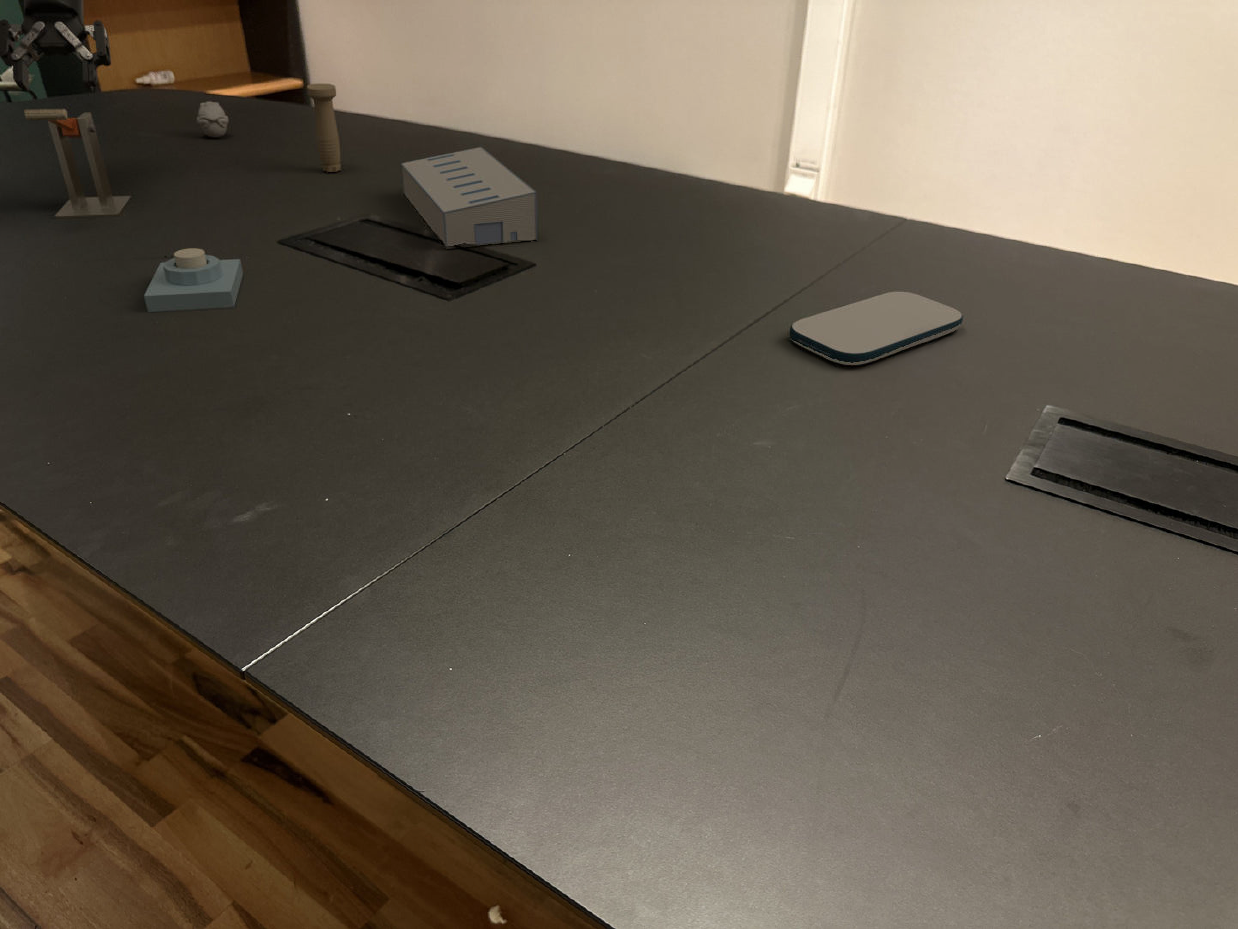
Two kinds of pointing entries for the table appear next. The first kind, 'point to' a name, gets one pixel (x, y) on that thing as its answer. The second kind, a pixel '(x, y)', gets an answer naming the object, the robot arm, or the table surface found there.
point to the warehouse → (471, 198)
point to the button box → (194, 286)
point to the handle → (326, 125)
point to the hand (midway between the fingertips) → (56, 87)
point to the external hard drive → (874, 326)
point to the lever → (56, 120)
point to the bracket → (78, 202)
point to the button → (190, 258)
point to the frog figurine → (212, 119)
